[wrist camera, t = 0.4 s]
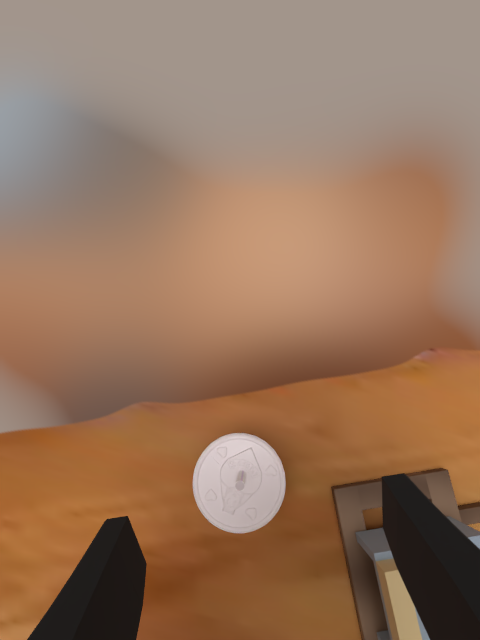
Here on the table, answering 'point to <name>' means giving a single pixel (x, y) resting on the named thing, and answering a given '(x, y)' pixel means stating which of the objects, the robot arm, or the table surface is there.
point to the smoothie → (239, 483)
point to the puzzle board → (351, 520)
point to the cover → (398, 585)
